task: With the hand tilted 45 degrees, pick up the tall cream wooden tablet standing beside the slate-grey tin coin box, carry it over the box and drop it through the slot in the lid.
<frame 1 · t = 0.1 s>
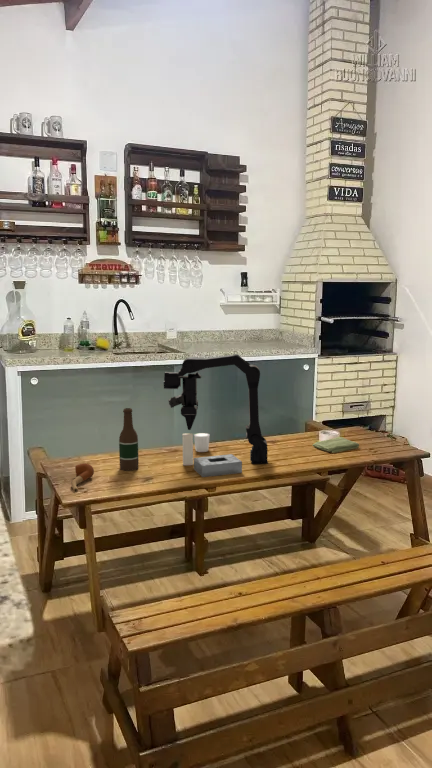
hand: (189, 427, 262), 15 cm above the table, fingers open, 9 cm apart
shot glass: (201, 450, 282), on the table
beer bottle: (129, 468, 256), on the table
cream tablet: (188, 464, 261), on the table
smoking pipe: (83, 484, 239), on the table
coin box: (217, 470, 252), on the table
washcloth: (336, 448, 285), on the table
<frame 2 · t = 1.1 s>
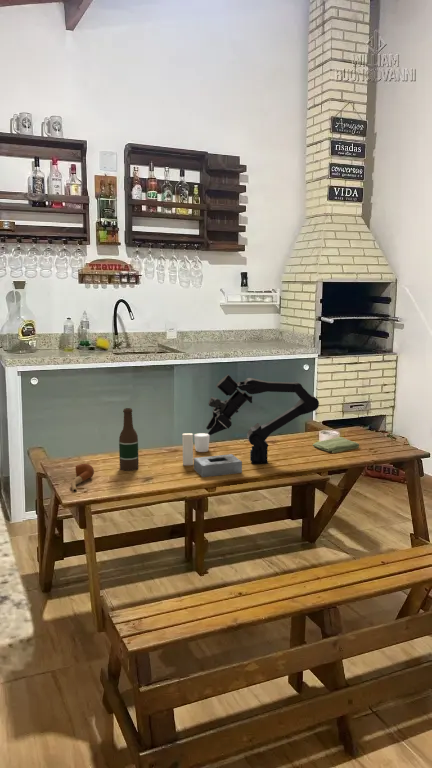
hand: (207, 431, 260), 13 cm above the table, fingers open, 9 cm apart
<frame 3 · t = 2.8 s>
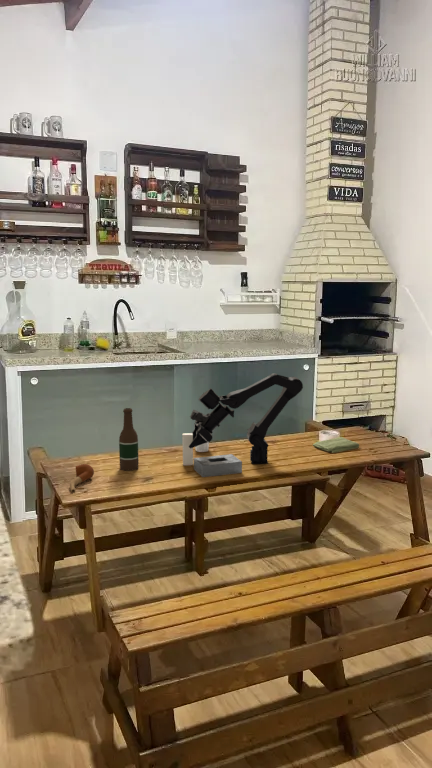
hand: (188, 444, 260), 8 cm above the table, fingers open, 9 cm apart
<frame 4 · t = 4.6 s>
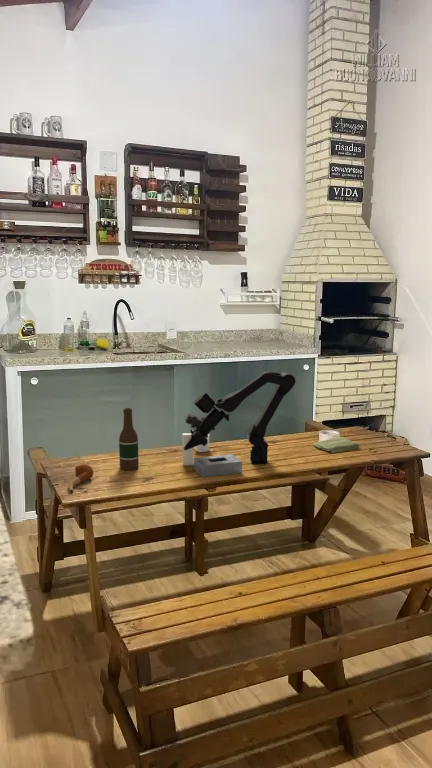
hand: (184, 448, 260), 7 cm above the table, fingers closed on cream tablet, 2 cm apart
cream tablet: (187, 464, 261), on the table, touching gripper
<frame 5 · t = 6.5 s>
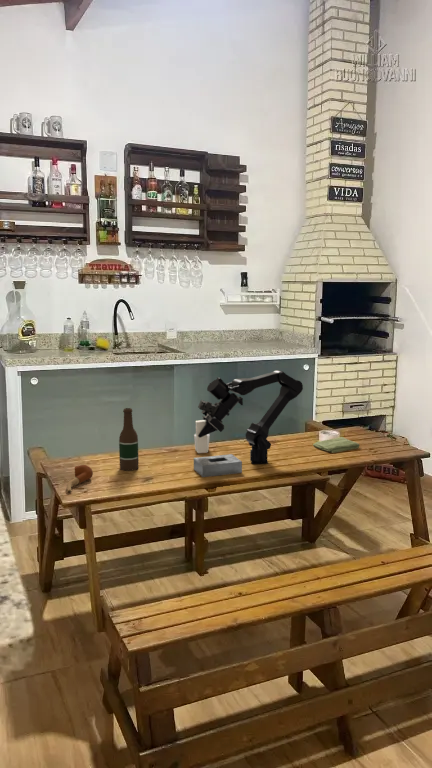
hand: (198, 435, 253), 13 cm above the table, fingers closed on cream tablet, 2 cm apart
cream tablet: (202, 451, 254), point 7 cm above the table, touching gripper
when the fingers open (13 cm above the table, at t = 8.4 s): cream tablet drops 6 cm, resting in coin box.
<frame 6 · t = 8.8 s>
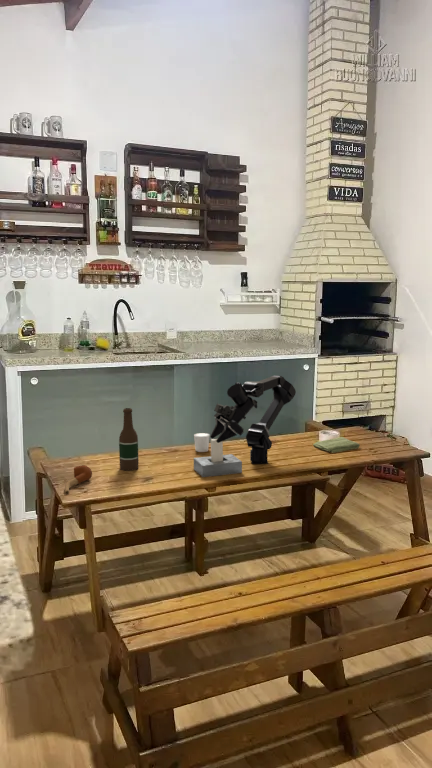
hand: (214, 439, 250), 13 cm above the table, fingers open, 7 cm apart
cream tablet: (217, 470, 252), resting in coin box
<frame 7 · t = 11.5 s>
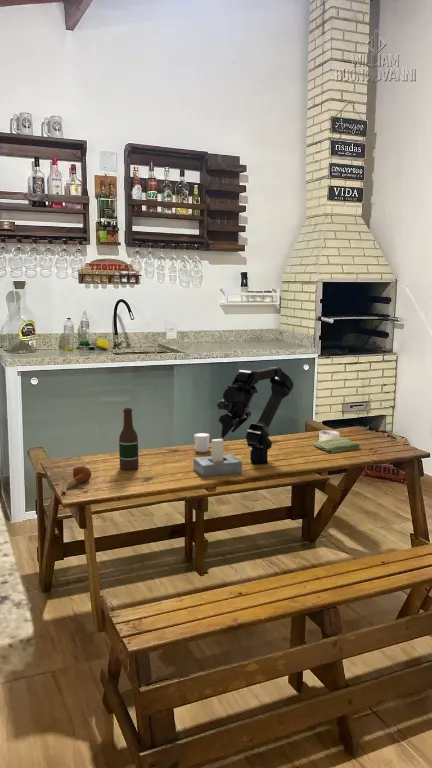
hand: (227, 434, 258), 12 cm above the table, fingers open, 9 cm apart
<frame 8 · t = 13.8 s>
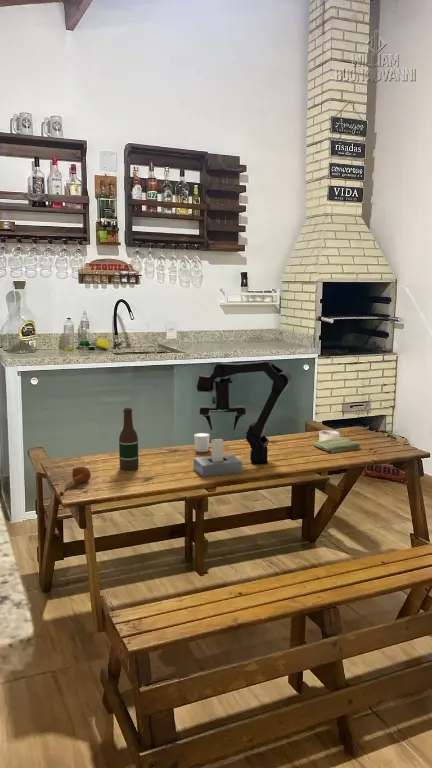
hand: (222, 430, 267), 12 cm above the table, fingers open, 9 cm apart
at the end: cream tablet inside the target area on the coin box (0.1 cm from its centre), point 0.0 cm above the coin box's base; the gripper is holding nothing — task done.
